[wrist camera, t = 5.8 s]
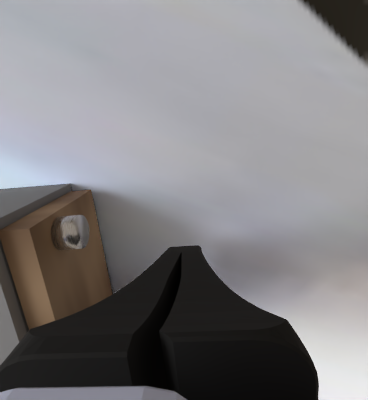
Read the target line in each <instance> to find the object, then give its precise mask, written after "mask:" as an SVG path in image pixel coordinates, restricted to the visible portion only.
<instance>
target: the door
mask: <svg viewBox="0 0 368 400" xmlns="http://www.w3.org/2000/svg"><path fill="white" fill-rule="evenodd" d="M0 240H1V243H2V246H3V249H4V252H5V255H6V259H7V262H8V265H9V268H10V271H11V274H12V277H13V281H14V284H15V287H16V290H17V293H18V296H19V299H20V303H21V306H22V309H23V312H24V315H25V318H26V321H27V325H28V328H29V330H30V329H32V328H35V327H38V326H41V325H44V324H47V323H50V322H53V321H56V320H59V319H62V318H64V317H67V316H69V315H72V314H74V313H77V312H79V311H81V310H84V309H86V308H88V307H90V306H92V305H94V304H96V303H98V302H100V301H102V300H103V299H105V298H107V297H109V296H111V295H113V294H112V289H111V284H110V279H109V275H108V270H107V265H106V260H105V255H104V250H103V245H102V241H101V236H100V231H99V226H98V221H97V216H96V211H95V206H94V202H93V197H92V192H91V190H81V191H70V192H68V193H67V194H65V195H63V196H61V197H59V198H57V199H56V200H54V201H52V202H50V203H48V204H47V205H45V206H43V207H41V208H39V209H37V210H36V211H34V212H32V213H30V214H28V215H26V216H25V217H23V218H21V219H19V220H17V221H15V222H14V223H12V224H10V225H8V226H6V227H4V228H3V229H1V230H0Z"/></svg>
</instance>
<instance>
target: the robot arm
mask: <svg viewBox="0 0 368 400" xmlns="http://www.w3.org/2000/svg"><path fill="white" fill-rule="evenodd" d="M318 388H319V384H318V376H317V371H316V369H315V366H314V364H313V361H312V359H311V357H310V355H309V353H308V351H307V350H306V348H305V346H304V345H303V343H302V341H301V340H300V338H299V337H298V335H297V334H296V332H295V331H294V329H293V328H292V326H291V325H290V323H289V322H288V321H287V320H286V319H283V318H281V317H279V316H276V315H274V314H271V313H269V312H267V311H264V310H262V309H260V308H258V307H257V306H255V305H253V304H251V303H249V302H248V301H246V300H244V299H243V298H241V297H240V296H239V295H237V294H236V293H234V292H233V291H232V290H231V289H230V288H229V287H227V286H226V285H225V284H224V283H223V282H222V281H221V280H220V278H219V277H218V276H217V275H216V274H215V272H214V271H213V270H212V269H211V267H210V266H209V264H208V263H207V261H206V259H205V258H204V256H203V253H202V251H201V247H200V246H181V247H170V248H168V249H167V250H166V251H165V252H164V253H163V254H162V255H161V256H160V258H158V259H157V260H156V261H155V262H154V263H153V264H152V265H151V266H150V267H149V268H148V269H147V270H146V271H144V272H143V273H142V274H141V275H140V276H139V277H137V278H136V279H135V280H134V281H132V282H131V283H129V284H128V285H127V286H125V287H124V288H122V289H121V290H119V291H118V292H116V293H114V294H113V295H111V296H109V297H107V298H105V299H103V300H102V301H100V302H98V303H96V304H94V305H92V306H90V307H88V308H86V309H84V310H81V311H79V312H77V313H74V314H72V315H69V316H67V317H64V318H62V319H59V320H56V321H53V322H50V323H47V324H44V325H41V326H38V327H35V328H32V329H30V330H29V331H28V332H27V333H26V335H25V336H24V337H23V338H22V340H21V341H20V342H19V343H18V344H17V346H16V347H15V348H14V349H13V351H12V352H11V353H10V354H9V355H8V357H7V358H6V359H5V360H4V362H3V363H2V364H1V365H0V400H318Z"/></svg>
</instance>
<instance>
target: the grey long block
mask: <svg viewBox="0 0 368 400" xmlns="http://www.w3.org/2000/svg"><path fill="white" fill-rule="evenodd" d="M70 191H72V189H71V184H61V185H48V186H36V187H23V188H10V189H0V230H1V229H3V228H4V227H6V226H8V225H10V224H12V223H14V222H15V221H17V220H19V219H21V218H23V217H25V216H26V215H28V214H30V213H32V212H34V211H36V210H37V209H39V208H41V207H43V206H45V205H47V204H48V203H50V202H52V201H54V200H56V199H57V198H59V197H61V196H63V195H65V194H67V193H68V192H70ZM28 331H29V328H28V325H27V321H26V318H25V315H24V312H23V309H22V306H21V303H20V299H19V296H18V293H17V290H16V287H15V284H14V281H13V277H12V274H11V271H10V268H9V265H8V262H7V259H6V255H5V252H4V249H3V246H2V243H1V240H0V365H1V364H2V363H3V362H4V360H5V359H6V358H7V357H8V355H9V354H10V353H11V352H12V351H13V349H14V348H15V347H16V346H17V344H18V343H19V342H20V341H21V340H22V338H23V337H24V336H25V335H26V333H27V332H28Z"/></svg>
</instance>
